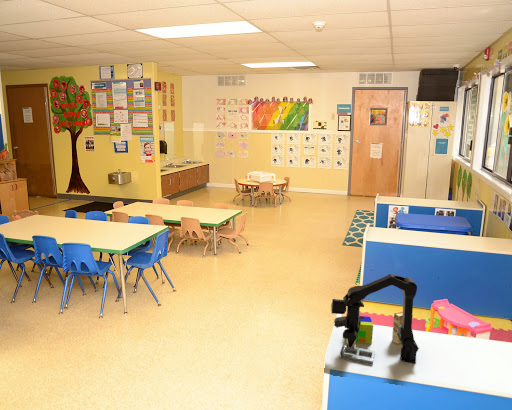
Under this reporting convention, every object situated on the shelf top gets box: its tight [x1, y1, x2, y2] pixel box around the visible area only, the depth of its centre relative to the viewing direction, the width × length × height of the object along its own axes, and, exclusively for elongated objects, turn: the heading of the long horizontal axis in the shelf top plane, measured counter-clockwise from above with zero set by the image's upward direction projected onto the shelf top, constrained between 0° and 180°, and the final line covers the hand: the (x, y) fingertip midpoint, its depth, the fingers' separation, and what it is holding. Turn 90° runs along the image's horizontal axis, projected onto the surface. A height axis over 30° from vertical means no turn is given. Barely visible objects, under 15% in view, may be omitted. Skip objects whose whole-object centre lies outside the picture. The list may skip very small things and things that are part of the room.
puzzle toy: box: [356, 315, 374, 344], centre depth 222 cm, size 10×10×10 cm
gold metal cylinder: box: [346, 339, 357, 349], centre depth 205 cm, size 4×4×6 cm
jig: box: [339, 340, 376, 366], centre depth 205 cm, size 15×10×4 cm, turn 69°
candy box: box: [391, 311, 414, 345], centre depth 219 cm, size 9×4×15 cm, turn 112°
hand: (351, 344), depth 205 cm, fingers closed on gold metal cylinder, 4 cm apart
